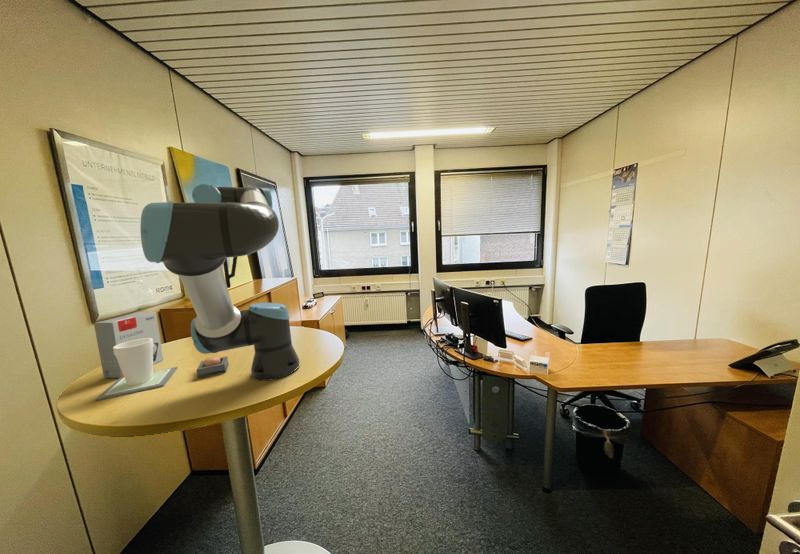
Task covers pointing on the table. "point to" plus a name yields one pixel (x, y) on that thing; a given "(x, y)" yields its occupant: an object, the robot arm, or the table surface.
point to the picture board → (122, 387)
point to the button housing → (212, 368)
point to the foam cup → (135, 360)
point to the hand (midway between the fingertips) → (225, 297)
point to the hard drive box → (125, 338)
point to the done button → (212, 361)
